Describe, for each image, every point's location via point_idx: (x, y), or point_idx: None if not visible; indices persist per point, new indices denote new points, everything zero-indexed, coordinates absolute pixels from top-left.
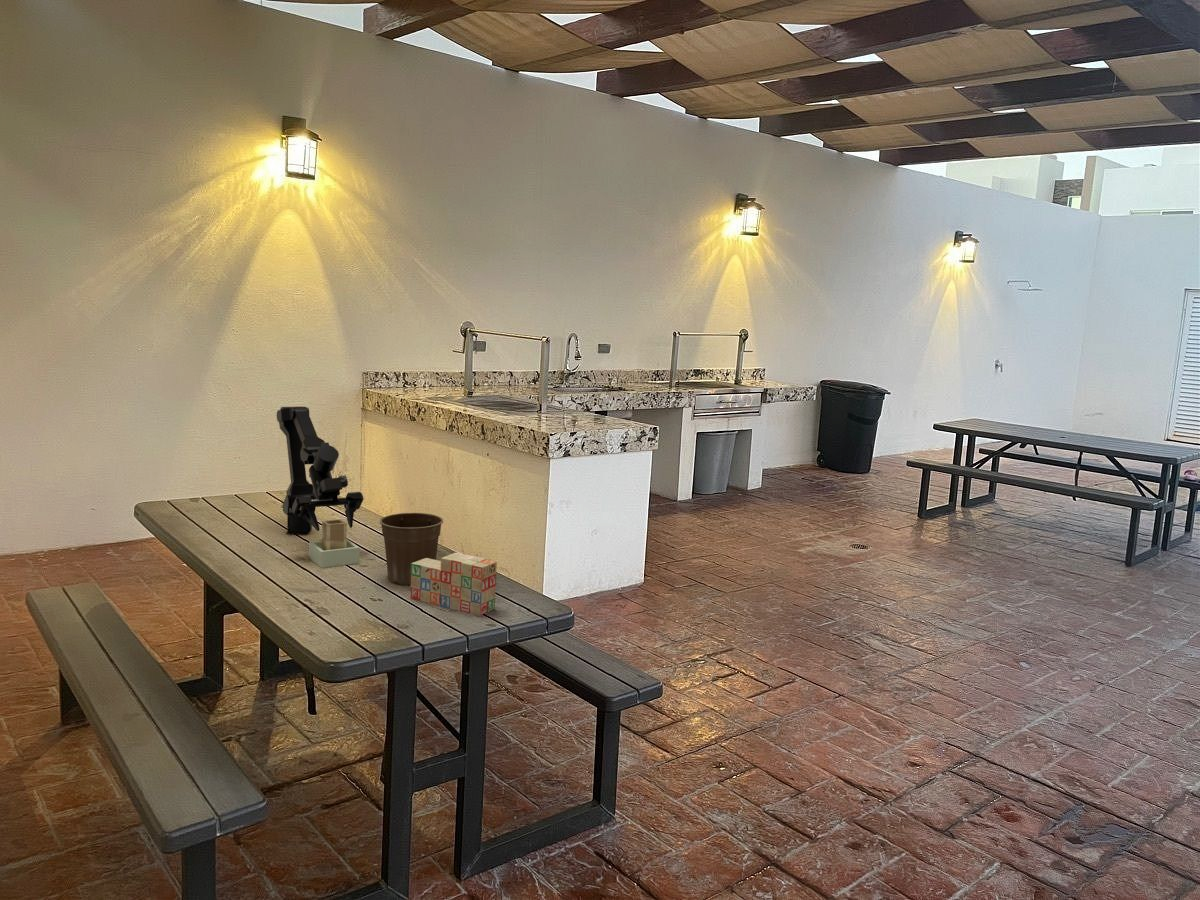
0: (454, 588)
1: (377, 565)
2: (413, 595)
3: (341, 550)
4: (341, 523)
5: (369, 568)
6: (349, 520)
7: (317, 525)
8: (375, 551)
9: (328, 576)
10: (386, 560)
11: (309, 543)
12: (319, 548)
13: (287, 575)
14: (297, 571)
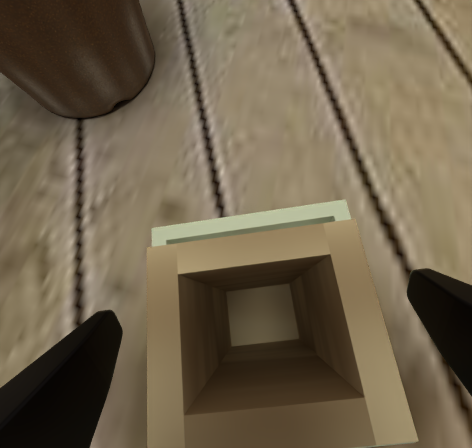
0: None
1: (128, 204)
2: None
3: (242, 216)
4: (200, 245)
5: (164, 179)
6: (74, 381)
7: (460, 287)
8: None
9: (309, 129)
10: (130, 10)
11: None
12: None
13: (452, 168)
14: (417, 205)
